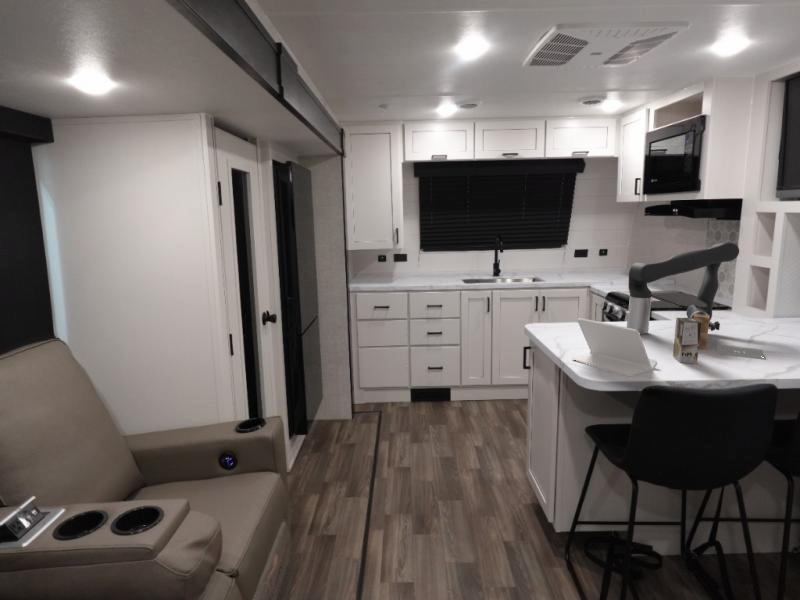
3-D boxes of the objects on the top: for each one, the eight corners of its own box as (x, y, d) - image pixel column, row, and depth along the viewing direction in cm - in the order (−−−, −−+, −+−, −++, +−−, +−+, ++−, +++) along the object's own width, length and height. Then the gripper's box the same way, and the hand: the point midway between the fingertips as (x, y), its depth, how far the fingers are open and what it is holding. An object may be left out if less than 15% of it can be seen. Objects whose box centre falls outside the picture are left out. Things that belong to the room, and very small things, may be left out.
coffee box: (697, 363, 196) (702, 322, 193) (679, 362, 197) (683, 321, 194) (689, 357, 205) (693, 317, 202) (672, 356, 206) (675, 316, 203)
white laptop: (630, 377, 181) (634, 330, 178) (570, 360, 201) (573, 318, 198) (658, 368, 191) (662, 323, 188) (598, 353, 211) (601, 312, 208)
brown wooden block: (690, 348, 216) (694, 316, 214) (690, 345, 221) (694, 313, 219) (706, 350, 214) (709, 317, 211) (705, 347, 218) (709, 315, 216)
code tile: (718, 354, 207) (718, 354, 207) (716, 345, 221) (716, 344, 221) (766, 360, 199) (767, 359, 199) (761, 350, 213) (761, 349, 213)
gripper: (682, 310, 232) (682, 317, 218) (719, 313, 225) (721, 320, 211) (680, 326, 233) (680, 334, 219) (717, 330, 227) (719, 338, 213)
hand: (700, 327), depth 215 cm, fingers open, 8 cm apart
